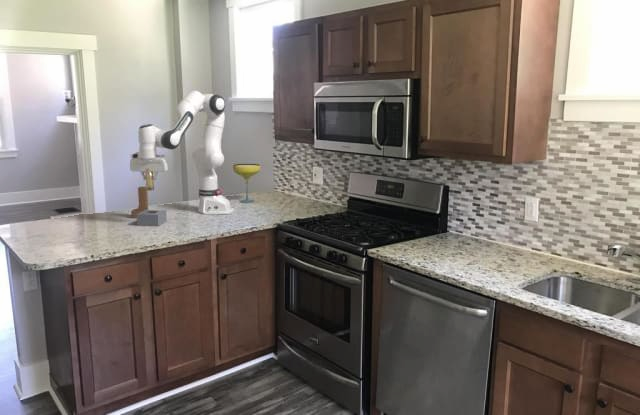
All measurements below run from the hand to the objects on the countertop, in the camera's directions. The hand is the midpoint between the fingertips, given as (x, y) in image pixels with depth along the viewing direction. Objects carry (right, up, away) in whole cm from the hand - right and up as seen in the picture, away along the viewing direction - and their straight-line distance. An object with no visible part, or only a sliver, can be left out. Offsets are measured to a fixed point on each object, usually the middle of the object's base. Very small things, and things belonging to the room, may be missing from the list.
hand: (149, 179), depth 287 cm
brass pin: (0, -6, +1) cm, 6 cm away
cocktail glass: (+44, -11, +71) cm, 84 cm away
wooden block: (-12, -21, +20) cm, 31 cm away
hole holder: (0, -24, +5) cm, 25 cm away
